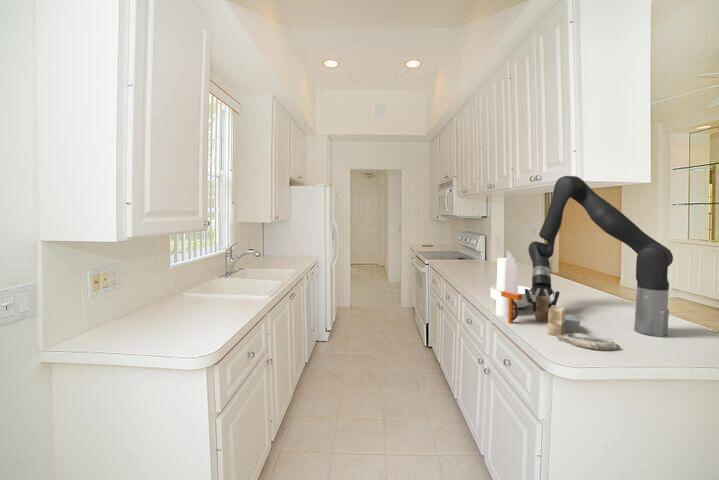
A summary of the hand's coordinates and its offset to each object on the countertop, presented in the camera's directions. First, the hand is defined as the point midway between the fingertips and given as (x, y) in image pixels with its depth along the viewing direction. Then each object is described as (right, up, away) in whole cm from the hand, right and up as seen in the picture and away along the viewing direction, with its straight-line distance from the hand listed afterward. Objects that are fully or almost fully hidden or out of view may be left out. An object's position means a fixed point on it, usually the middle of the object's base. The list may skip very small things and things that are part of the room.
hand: (542, 311), depth 147 cm
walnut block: (+1, -4, +2) cm, 5 cm away
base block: (+4, -5, -9) cm, 11 cm away
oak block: (-3, -5, -15) cm, 16 cm away
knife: (-14, -4, -1) cm, 14 cm away
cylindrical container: (-12, -3, +10) cm, 16 cm away
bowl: (-2, -2, +25) cm, 25 cm away
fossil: (+3, -7, -24) cm, 25 cm away
